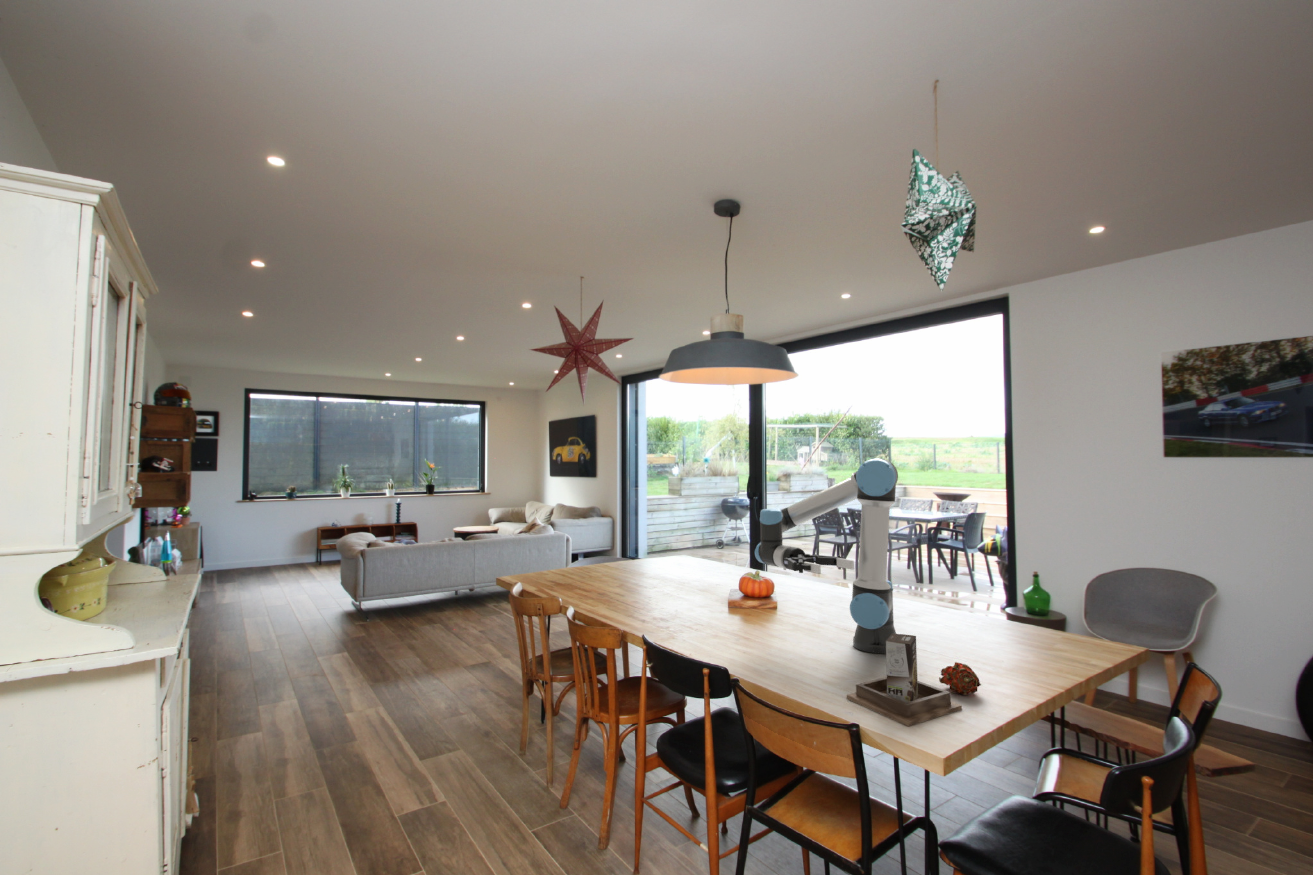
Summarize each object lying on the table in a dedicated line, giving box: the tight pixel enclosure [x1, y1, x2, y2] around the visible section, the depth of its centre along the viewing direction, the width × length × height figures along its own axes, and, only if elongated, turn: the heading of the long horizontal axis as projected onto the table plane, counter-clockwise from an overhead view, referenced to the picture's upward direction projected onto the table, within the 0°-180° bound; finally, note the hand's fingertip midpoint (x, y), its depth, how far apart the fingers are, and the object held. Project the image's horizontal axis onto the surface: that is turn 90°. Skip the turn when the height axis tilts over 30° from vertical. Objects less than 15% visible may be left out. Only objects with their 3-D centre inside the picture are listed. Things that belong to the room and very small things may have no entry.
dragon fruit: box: [938, 661, 982, 696], centre depth 168 cm, size 8×8×12 cm
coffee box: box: [885, 633, 919, 703], centre depth 161 cm, size 9×6×16 cm
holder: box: [845, 676, 963, 727], centre depth 160 cm, size 20×20×4 cm
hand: (836, 567), depth 184 cm, fingers open, 13 cm apart
